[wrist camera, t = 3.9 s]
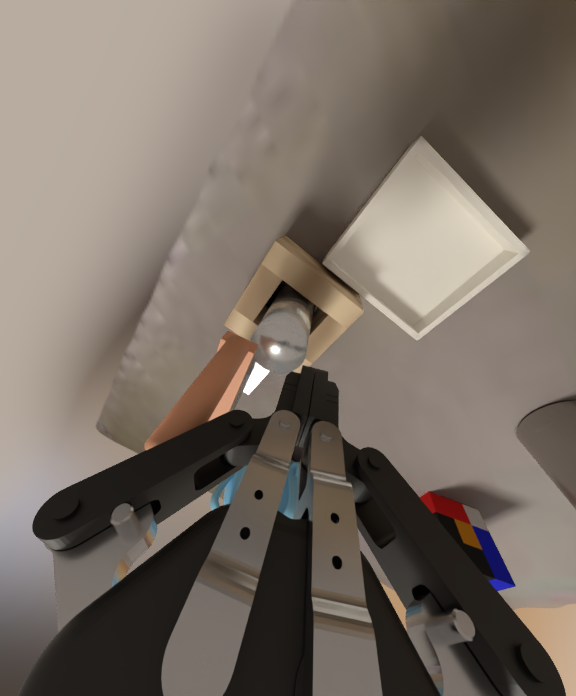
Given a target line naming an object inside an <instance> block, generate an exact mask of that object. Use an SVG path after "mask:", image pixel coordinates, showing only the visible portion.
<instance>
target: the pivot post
mask: <svg viewBox="0 0 576 696" xmlns="http://www.w3.org/2000/svg"><path fill="white" fill-rule="evenodd" d="M268 372H269V371H268V370H266V369H264V368H263V367H261V366H260V365H259V364H258V363H257V362H256V361H255V360H254V358H253V359H252V361H251V364H250V366H249V368H248V371H247V373H246V375H245V377H244V380H243V382H242V384H241V387H240V389H239V391H238V394H237V396H236V398H235V400H234V403H233V405H232V407H231V410H230V411H232V410H234V409H235V407H236V405H237V403H238V401H239V399H240V396H241V394H242V392H245V393H246V394H248V395H249V394H250V393H251V392H252V391H253V389H254V388H255V387H256V386H257V385H258V384H259V383H260V381H261V380H262V379H263V378H264V377H265V376H266V375H267V374H268Z"/></svg>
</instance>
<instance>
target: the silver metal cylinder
mask: <svg viewBox="0 0 576 696" xmlns="http://www.w3.org/2000/svg"><path fill="white" fill-rule="evenodd" d="M313 310H314V304H313V303H312V302H311V301H310V300H308V299H307V298H306V297H304V296H303V295H302V294H300V293H299V292H298V291H296V290H295V289H294V288H293V287H291V286H290V285H289V284H287V285H285V286H284V287H283V288H282V289H281V290H280V292H279V293H278V295H277V296H276V298H275V300H274V301H273V303H272V305H271V306H270V308H269V309H268V311H267V313H266V314H265V316H264V317H263V319H262V321H261V322H260V324H259V325H258V327H257V329H256V330H255V332H254V333H253V335H252V337H251V340H250V341H251V342H253V343H256V344H258V348H257V350H256V352H255V354H254V357H253V358H254V360H255V361H256V362H257V363H258V364H259V365H260V366H261V367H263V368H264V369H266V370H268V371H271V372H275V373H287V372H291V371H294V370H296V369H297V368H298V367H300V366H301V364H302V363H303V362H304V360H305V357H306V352H307V346H308V340H309V334H310V328H311V322H312V316H313Z"/></svg>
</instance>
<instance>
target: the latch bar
mask: <svg viewBox="0 0 576 696" xmlns="http://www.w3.org/2000/svg"><path fill="white" fill-rule="evenodd" d="M257 348H258V344H256V343H253V342H251V341H249V340H247V339H245V338H243V337H240V336H238V335H236V334H234V333H232V332H229V331H227V332H226V334H225V335H224V336H223V337H222V338H221V341H220V344H219V347H218V350H217V353H216V355H215V356H214V357H213V358H212V360H211V361H210V362H209V363H208V365H207V366H206V367H205V368H204V370H203V371H202V372H201V373H200V375H199V376H198V377H197V378H196V380H195V381H194V382H193V383H192V385H191V386H190V387H189V388H188V390H187V391H186V392H185V393H184V395H183V396H182V397H181V398H180V400H179V401H178V402H177V403H176V405H175V406H174V407H173V408H172V410H171V411H170V412H169V413H168V415H167V416H166V417H165V419H164V420H163V421H162V422H161V424H160V425H159V426H158V427H157V429H156V430H155V431H154V432H153V434H152V435H151V436H150V437H149V439H148V440H147V441H146V442H145V449H146V450H148V449H150V448H152V447H155V446H157V445H159V444H161V443H163V442H165V441H167V440H169V439H172V438H174V437H176V436H178V435H180V434H182V433H184V432H187V431H189V430H191V429H193V428H195V427H197V426H199V425H201V424H204V423H206V422H208V421H210V420H212V419H214V418H216V417H219V416H221V415H223V414H225V413H227V412H229V411H230V410H231V407H232V405H233V403H234V400H235V398H236V396H237V394H238V391H239V389H240V387H241V384H242V382H243V380H244V377H245V375H246V373H247V371H248V368H249V366H250V364H251V361H252V359H253V357H254V354H255V352H256V350H257Z"/></svg>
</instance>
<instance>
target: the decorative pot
mask: <svg viewBox="0 0 576 696" xmlns="http://www.w3.org/2000/svg"><path fill="white" fill-rule="evenodd" d="M247 467H248V465H247V466H244V467H243V468H242V469H240V470H239V471H237V472H236V473H234V474H233V475H231V476H230V477H228V478H227V479H225V480H224V481H222V482H221V483H220V484H219V485H218V486H217V488H216V489H215V491H214V492H213V494H212V497H211V501H210V506H211V510H214V509H216V508H218V507H220V506H219V503H218V499H219V496H220V494H221V492H222V490H223V489H224V487H225V486H226V487H225V492H224V503H223V505H226V504H231V503H232V501H233V498H234V496H235V494H236V492H237V489H238V487H239V485H240V482H241V480H242V478H243V476H244V473H245V471H246V469H247ZM298 472H299V462H295V461H293V460H291V462H290V465H289V471H288V474H287V478H286V482H285V485H284V489H283V492H282V496H281V500H280V503H279V507H278V511H280V512H281V513H283V514H284V515H286V516H287V517H289V518H291V519H293V516H294V511H295V506H296V497H297V485H298Z"/></svg>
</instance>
